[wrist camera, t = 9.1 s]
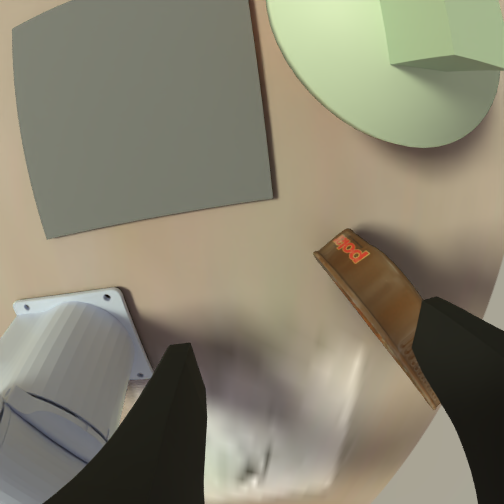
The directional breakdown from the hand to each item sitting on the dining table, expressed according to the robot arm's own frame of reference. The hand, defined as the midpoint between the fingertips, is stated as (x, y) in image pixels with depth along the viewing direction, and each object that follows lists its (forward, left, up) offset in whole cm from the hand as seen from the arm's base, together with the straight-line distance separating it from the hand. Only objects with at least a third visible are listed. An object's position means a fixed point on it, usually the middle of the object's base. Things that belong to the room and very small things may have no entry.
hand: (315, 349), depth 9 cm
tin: (+7, -6, -11) cm, 14 cm away
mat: (-6, +9, -10) cm, 15 cm away
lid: (+7, +11, -5) cm, 14 cm away
